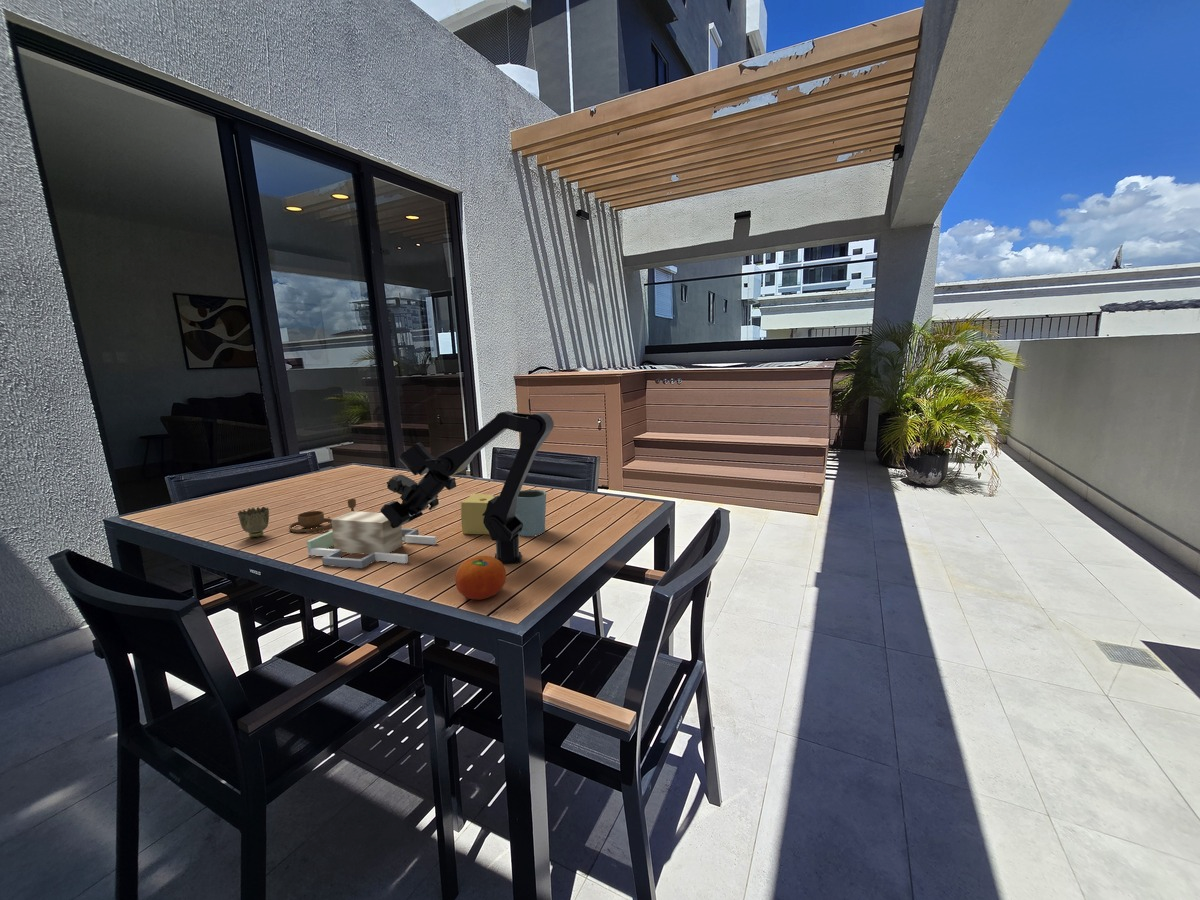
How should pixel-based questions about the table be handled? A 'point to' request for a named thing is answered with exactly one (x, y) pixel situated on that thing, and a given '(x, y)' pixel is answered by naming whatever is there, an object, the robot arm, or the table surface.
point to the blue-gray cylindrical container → (531, 511)
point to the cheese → (474, 513)
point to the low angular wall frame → (334, 555)
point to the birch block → (365, 533)
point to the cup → (254, 521)
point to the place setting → (316, 520)
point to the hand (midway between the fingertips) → (392, 526)
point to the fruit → (480, 577)
